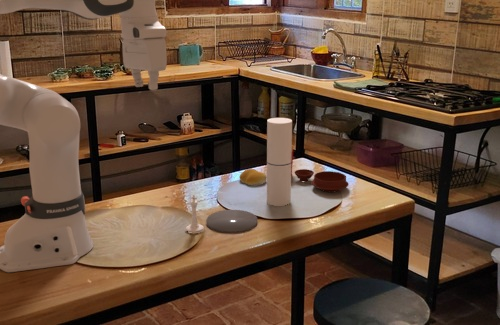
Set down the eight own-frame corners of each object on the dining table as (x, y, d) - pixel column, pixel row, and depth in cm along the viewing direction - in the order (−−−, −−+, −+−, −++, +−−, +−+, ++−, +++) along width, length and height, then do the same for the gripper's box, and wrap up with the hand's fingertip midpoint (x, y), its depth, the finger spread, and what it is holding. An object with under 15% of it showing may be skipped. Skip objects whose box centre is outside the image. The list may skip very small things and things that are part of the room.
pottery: (332, 198, 173) (332, 185, 171) (284, 182, 187) (285, 170, 185) (355, 189, 180) (356, 176, 179) (308, 174, 194) (308, 162, 193)
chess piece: (190, 225, 154) (189, 190, 151) (207, 227, 152) (206, 192, 149) (182, 232, 149) (180, 197, 146) (199, 235, 148) (198, 199, 145)
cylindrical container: (264, 204, 168) (264, 122, 160) (270, 196, 174) (270, 117, 166) (287, 207, 166) (289, 124, 158) (292, 198, 172) (294, 118, 165)
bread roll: (253, 188, 182) (253, 176, 181) (235, 181, 188) (235, 169, 187) (272, 182, 187) (272, 170, 186) (254, 175, 193) (254, 164, 192)
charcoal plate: (219, 236, 146) (219, 234, 146) (198, 217, 158) (198, 215, 158) (266, 226, 153) (266, 223, 152) (243, 208, 164) (243, 206, 164)
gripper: (113, 31, 142) (119, 86, 146) (143, 30, 125) (149, 93, 129) (137, 29, 145) (143, 83, 149) (169, 29, 128) (174, 90, 132)
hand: (146, 88), depth 139 cm, fingers open, 8 cm apart
